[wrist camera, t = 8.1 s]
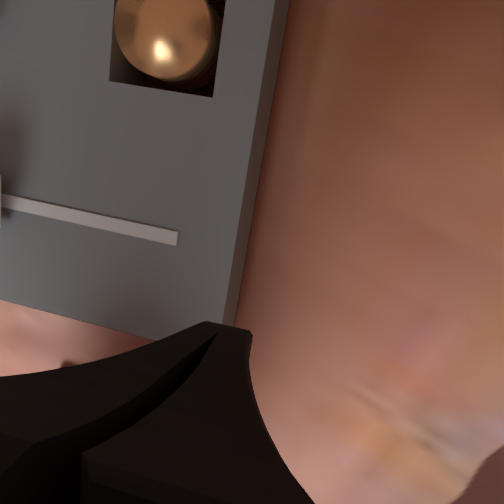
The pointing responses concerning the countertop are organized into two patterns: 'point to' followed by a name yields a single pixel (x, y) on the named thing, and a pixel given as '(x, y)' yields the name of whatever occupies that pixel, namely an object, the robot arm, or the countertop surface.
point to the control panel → (128, 168)
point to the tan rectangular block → (0, 201)
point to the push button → (170, 39)
